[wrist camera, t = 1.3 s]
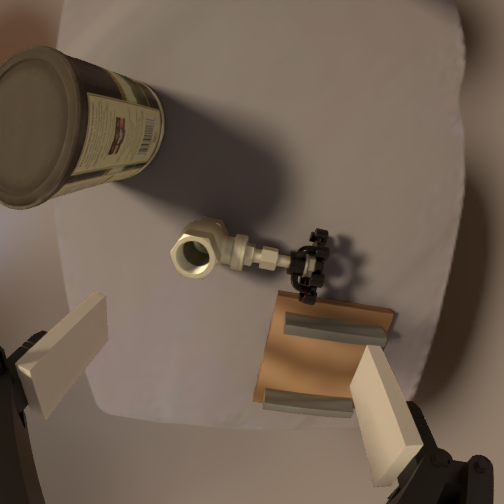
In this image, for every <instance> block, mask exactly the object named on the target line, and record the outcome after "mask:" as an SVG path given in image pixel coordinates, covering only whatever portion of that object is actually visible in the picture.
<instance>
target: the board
mask: <svg viewBox="0 0 504 504" xmlns="http://www.w3.org/2000/svg"><path fill="white" fill-rule="evenodd" d="M298 297H299V294H296V293H291V292H285V291H279V290H278V294H277V298H276V302H275V307H274V311H273V316H272V320H271V324H270V329H269V333H268V337H267V341H266V346H265V350H264V354H263V358H262V362H261V367H260V371H259V375H258V379H257V383H256V387H255V391H254V395H253V402H259V403H263V409H266V410H272V411H280V412H287V413H296V414H305V415H314V416H326V417H338V418H351V417H352V415H353V413H354V411H353V407H354V402H353V398H352V394H351V390H350V384H351V382H352V380H353V377H354V375H355V373H356V370H357V368H358V366H359V363H360V361H361V358H362V356H363V353H364V351H365V348H366V346H367V345H375V346H381V347H383V348H384V347H385V344H386V342H387V337H386V334H387V332H388V329H389V327H390V324H391V322H392V319H393V316H394V313H393V312H392V310H391V309H388V308H382V307H375V306H369V305H362V304H356V303H350V302H344V301H338V300H332V299H326V298H320V297H317V299H316V303H315V304H314V305H309V304H303V303H302V302H299V301H298Z"/></svg>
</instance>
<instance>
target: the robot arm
mask: <svg viewBox="0 0 504 504" xmlns="http://www.w3.org/2000/svg"><path fill="white" fill-rule="evenodd" d="M107 341H108V326H107V302H106V295H104V294H100V293H96V292H93V293H92V294H91V295H89V296H88V297H87V298H86V299H85V300H84V301H82V302H81V303H80V304H79V305H78V306H77V307H76V308H74V309H73V310H72V311H71V312H70V313H69V314H68V315H67V316H66V317H64V318H63V319H62V320H61V321H60V322H59V323H58V324H57V325H55V326H54V327H53V328H52V329H51V330H50V331H49V332H46V331H41V332H38V333H36V334H34V335H33V336H31V338H29V339H28V340H27V342H25V343H24V344H23V345H22V347H19V348H18V349H17V350H16V351H15V352H14V353H13V354H12V355H11V356H10V357H8V358H7V359H6V356H5V352H4V349H3V348H1V346H0V504H45V501H44V497H43V494H42V490H41V487H40V483H39V479H38V475H37V471H36V467H35V463H34V459H33V454H32V449H31V444H30V439H29V434H28V428H27V422H26V416H25V412H24V409H25V407H26V406H27V405H28V406H29V408H30V411H31V414H33V415H35V416H37V417H39V418H41V419H43V420H45V421H46V420H47V418H48V417H49V416H50V414H51V413H52V412H53V410H54V409H55V408H56V406H57V405H58V404H59V402H60V401H61V400H62V398H63V397H64V396H65V394H66V393H67V392H68V391H69V389H70V388H71V387H72V385H73V384H74V383H75V381H76V380H77V379H78V377H79V376H80V375H81V374H82V372H83V371H84V370H85V369H86V367H87V366H88V365H89V364H90V362H91V361H92V360H93V359H94V357H95V356H96V355H97V354H98V352H99V351H100V350H101V349H102V347H103V346H104V345H105V344H106V342H107ZM350 390H351V394H352V398H353V402H354V405H355V409H356V413H357V417H358V421H359V425H360V429H361V434H362V438H363V442H364V446H365V451H366V455H367V459H368V464H369V468H370V472H371V476H372V482H373V487H384V486H391V485H392V483H393V482H394V481H395V480H396V479H398V483H399V486H398V487H397V488H396V489H395V491H394V492H393V493H392V494H391V495H390V496H389V497H388V499H389V500H388V502H387V503H386V504H493V494H494V493H493V492H494V489H493V488H494V482H493V481H494V476H493V465H492V463H491V462H490V460H489V459H488V458H486V457H485V456H482V455H475V456H472V457H471V459H470V460H469V461H468V462H461V461H455V460H453V459H452V457H451V455H450V454H449V453H448V452H446V451H445V450H443V449H440V448H438V447H437V445H436V443H435V441H434V438H433V436H432V434H431V431H430V429H429V427H428V425H427V422H426V420H425V419H424V416H423V414H422V411H421V409H420V408H419V407H418V406H417V405H416V404H415V403H414V402H413V401H405V399H404V397H403V394H402V392H401V390H400V387H399V385H398V383H397V381H396V378H395V376H394V374H393V372H392V370H391V367H390V365H389V363H388V361H387V359H386V357H385V354H384V352H383V350H382V348H381V346H375V345H367V346H366V348H365V351H364V353H363V356H362V358H361V361H360V363H359V366H358V368H357V370H356V373H355V375H354V377H353V380H352V382H351V384H350Z"/></svg>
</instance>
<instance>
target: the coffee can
mask: <svg viewBox="0 0 504 504" xmlns="http://www.w3.org/2000/svg"><path fill="white" fill-rule="evenodd" d="M164 125H165V122H164V112H163V108H162V106H161V103H160V101H159V99H158V97H157V95H156V94H155V93H154V92H153V91H152V89H151V88H149V87H148V86H147V85H146V84H144V83H143V82H140V81H138V80H135V79H131V78H128V77H126V76H123V75H120V74H118V73H115V72H112V71H109V70H107V69H104V68H101V67H99V66H96V65H94V64H91V63H88V62H86V61H82V60H80V59H77V58H73V57H70V56H67V55H65V54H63V53H62V52H60V51H58V50H56V49H53V48H51V47H47V46H32V47H28V48H25V49H23V50H21V51H19V52H17V53H15V54H14V55H12V56H11V57H10V58H8V59H7V61H5V62H4V63H3V64H2V65H1V66H0V204H2V205H4V206H6V207H8V208H12V209H17V210H21V209H22V210H23V209H29V208H32V207H35V206H38V205H40V204H42V203H44V202H46V201H47V200H49V199H52V198H55V197H59V196H62V195H66V194H69V193H72V192H75V191H79V190H82V189H86V188H89V187H93V186H96V185H100V184H104V183H108V182H111V181H115V180H122V179H127V178H130V177H132V176H134V175H136V174H138V173H139V172H141V171H142V170H143V169H145V168H146V167H147V166H148V165H149V164H150V162H151V161H152V160H153V159H154V157H155V155H156V154H157V152H158V150H159V148H160V145H161V142H162V139H163V135H164Z"/></svg>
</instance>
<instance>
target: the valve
mask: <svg viewBox="0 0 504 504" xmlns="http://www.w3.org/2000/svg"><path fill="white" fill-rule="evenodd" d="M327 239H328V231H327V230H323V229H318V228H316V230H315V232H311V235H310V239H309V241H311V242H314V243H313V245H312V246H303V247H301V248H300V249H299V250H298V251H297V252H296V251H291V252H290V255H289V256H285V255H281V254H278V253H279V250H278V249H277V248H272V247H267V246H263V249H262V250H261V249H256V248H255V244H252V243H248V240H249V236H246V235H241V234H237V235H236V237H231V236H229V235H228V232H227V229H226V227H225V224H224V222H223V220H220V219H215V218H209V217H204V216H203V217H201V218H200V219H199V220H197V221H194V222H192V223H190V224H189V225H187V226H186V227H185V228H184V229H183V230H182V232H181V234H180V236H179V239H178V242H177V243H176V244H175V246H174V247H173V248H172V250H171V251H170V254H171V257H172V260H173V263H174V265H175V267H176V269H177V271H178V273H179V274H180V275H182V276H186V277H190V278H195V279H202V280H203V279H204V278H205V277H206V276H207V275H208V274H209V273H210V271H211V270H212V269H213V268H214V267H216V266H217V265H219V264H220V263H224V264H229V265H230V269H234V270H239V271H242V269H243V265H247V266H251V264H252V263H253V262H254V263H260V264H259V268H262V269H267V270H272V271H274V270H275V268H276V266H280V267H285V268H287V274H289V275H291V284H292V286H293V287H294V288H295V289H296V290H297V291H300V292H299V297H298V301H299V302H302V303H303V304H309V305H314V304H315V303H316V299H317V292H316V290H317V287H319V288H321V287H322V286H323V283H324V278H325V275H324V274H323V273H322V270H323V264H324V261H326V260H327V259H328V256H329V251H330V249H329V247H328V246H325V243H326V242H327ZM200 243H201V244H203V245H204V246H205V247H206V248H205V247H204V246H202V245H201V244H200ZM298 276H300V280H299V283H298ZM302 292H304V293H302Z"/></svg>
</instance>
